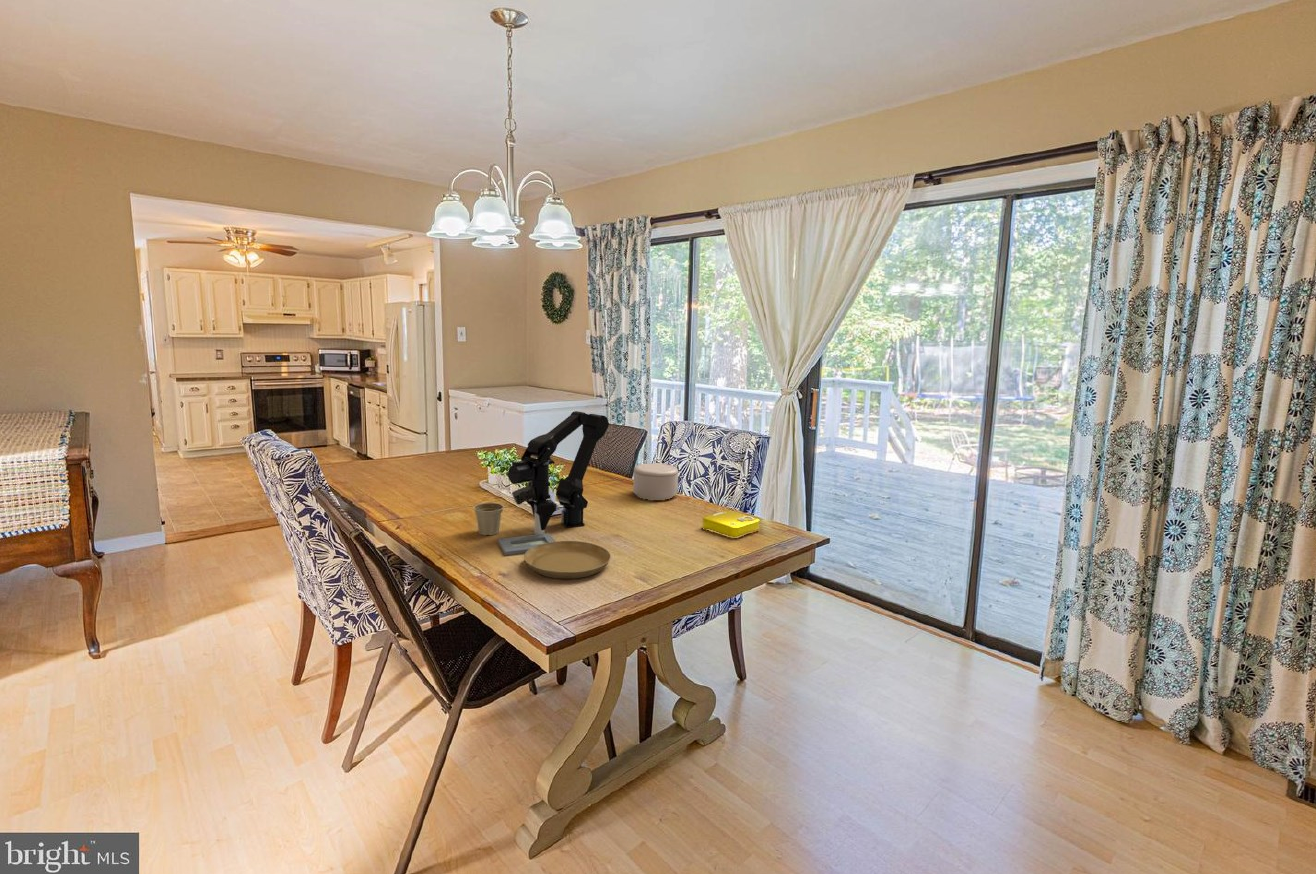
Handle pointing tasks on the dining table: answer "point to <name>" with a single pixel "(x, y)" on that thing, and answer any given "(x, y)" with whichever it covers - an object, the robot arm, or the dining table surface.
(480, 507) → the flower pot
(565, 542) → the plant saucer
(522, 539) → the keyhole plate
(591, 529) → the dining table surface
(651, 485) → the container
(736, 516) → the element tile
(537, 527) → the cream peg
